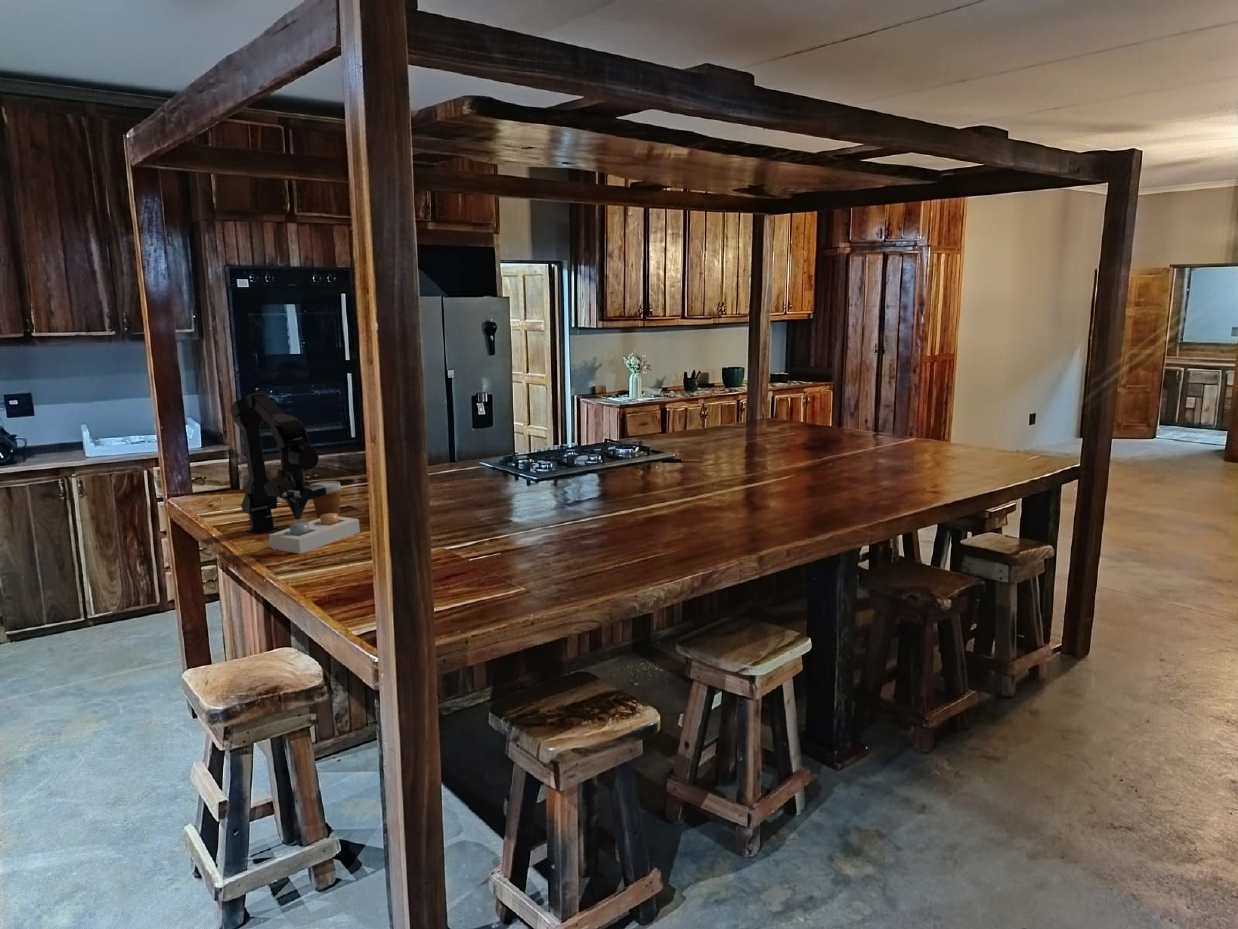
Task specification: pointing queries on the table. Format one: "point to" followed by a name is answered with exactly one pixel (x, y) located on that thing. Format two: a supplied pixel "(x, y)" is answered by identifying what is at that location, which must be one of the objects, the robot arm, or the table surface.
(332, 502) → the disposable coffee cup
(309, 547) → the button panel
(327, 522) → the terracotta button
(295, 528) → the slate-grey button
